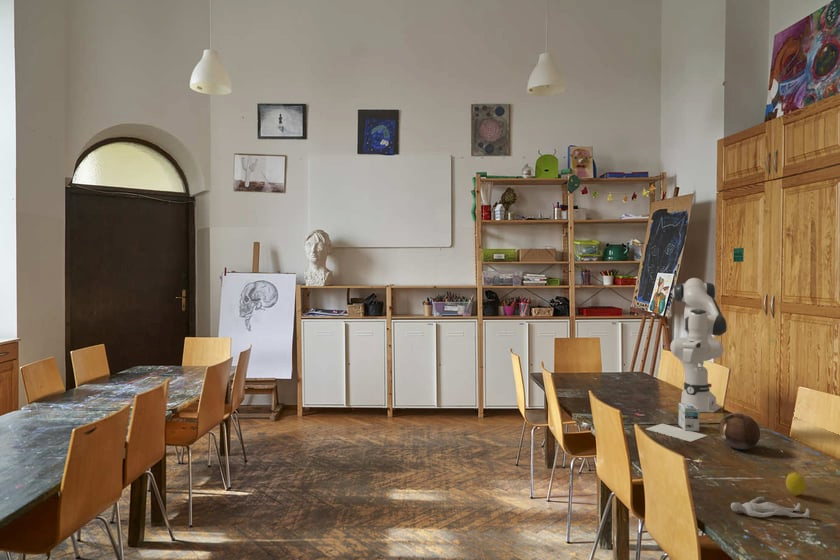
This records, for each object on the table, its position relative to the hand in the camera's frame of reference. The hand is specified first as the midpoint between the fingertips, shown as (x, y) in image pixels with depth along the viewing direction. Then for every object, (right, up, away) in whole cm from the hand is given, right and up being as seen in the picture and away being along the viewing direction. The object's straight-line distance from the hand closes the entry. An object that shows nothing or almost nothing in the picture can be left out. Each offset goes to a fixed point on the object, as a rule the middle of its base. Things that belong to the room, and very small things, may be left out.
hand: (698, 370), depth 252 cm
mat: (-16, -28, -10) cm, 33 cm away
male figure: (-27, -30, -90) cm, 98 cm away
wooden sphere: (+1, -28, -32) cm, 42 cm away
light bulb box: (-7, -27, -4) cm, 28 cm away
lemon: (-9, -29, -77) cm, 83 cm away
